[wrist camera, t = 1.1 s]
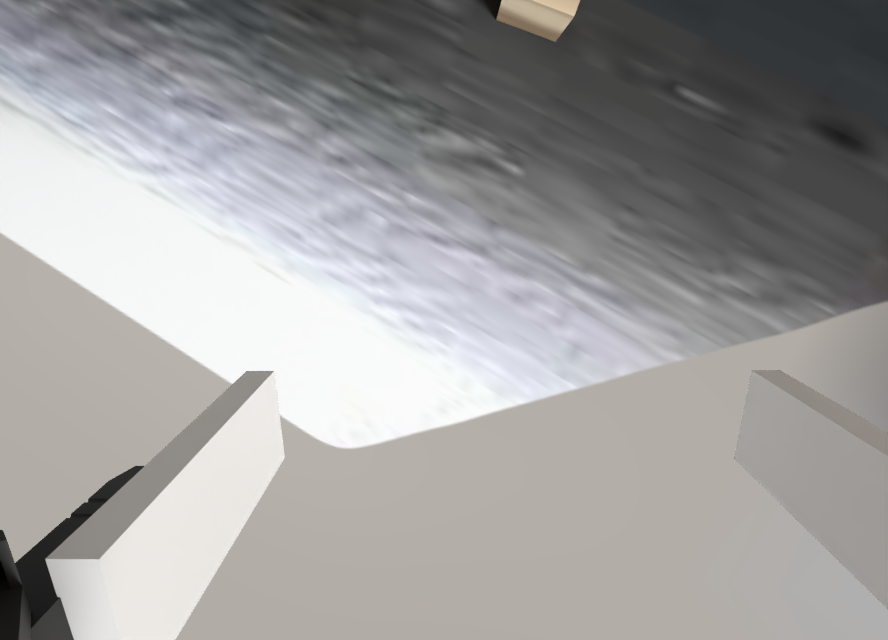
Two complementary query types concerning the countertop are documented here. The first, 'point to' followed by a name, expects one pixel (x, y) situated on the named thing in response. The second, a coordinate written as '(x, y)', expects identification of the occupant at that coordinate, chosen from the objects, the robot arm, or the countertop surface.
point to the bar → (538, 15)
